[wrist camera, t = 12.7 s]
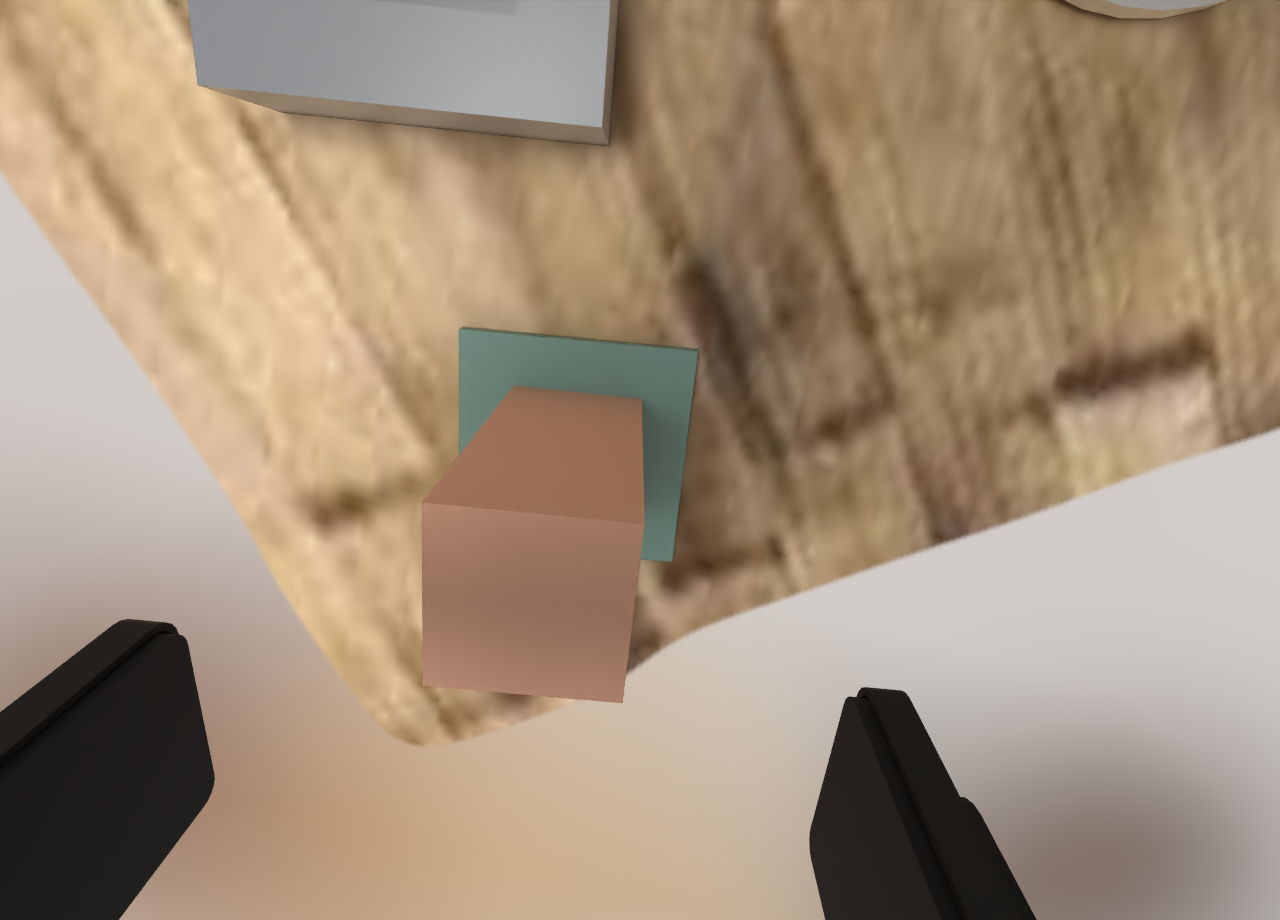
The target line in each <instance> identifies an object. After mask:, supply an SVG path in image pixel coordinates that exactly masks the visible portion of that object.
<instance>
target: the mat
mask: <svg viewBox="0 0 1280 920" xmlns="http://www.w3.org/2000/svg"><path fill="white" fill-rule="evenodd" d="M697 356H698V350H697V349H691V348H680V347H669V346H659V345H648V344H637V343H627V342H616V341H605V340H595V339H584V338H573V337H563V336H552V335H541V334H530V333H520V332H509V331H498V330H488V329H477V328H466V327H462V328H461V329H459V455H460V453H461V452H462V451H463V450H464V448H465V447H466V446H467V444H468V443H469V442H470V441H471V439H472V438H473V437H474V436H475V434H476V433H477V432H478V430H479V429H480V428H481V427H482V425H483V424H484V423H485V422H486V420H487V419H488V418H489V416H490V415H491V414H492V413H493V411H494V410H495V409H496V408H497V406H498V405H499V404H500V402H501V401H502V400H503V399H504V397H505V396H506V395H507V394H508V392H509V391H510V390H511V388H512V387H513V386H514V385H516V386H525V387H534V388H544V389H553V390H563V391H572V392H581V393H591V394H600V395H610V396H619V397H628V398H638V399H642V432H643V476H644V520H645V525H644V533H643V541H642V549H641V557H640V559H644V560H657V561H669V562H672V557H673V549H674V541H675V533H676V525H677V517H678V509H679V501H680V493H681V485H682V477H683V469H684V461H685V453H686V445H687V437H688V429H689V421H690V413H691V405H692V397H693V389H694V381H695V372H696V364H697Z"/></svg>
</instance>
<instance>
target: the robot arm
mask: <svg viewBox="0 0 1280 920" xmlns="http://www.w3.org/2000/svg"><path fill="white" fill-rule="evenodd" d="M1065 1H1067V2H1069V3H1071V4H1073V5H1075V6H1077V7H1079V8H1081V9H1083V10H1088V11H1092V12H1096V13H1100V14H1104V15H1109V16H1113V17H1117V18H1166V17H1170V16H1175V15H1179V14H1184V13H1189V12H1193V11H1198V10H1203V9H1206V8H1209V7H1211V6H1214V5H1216V4H1219V3H1221V2H1224V1H1226V0H1065ZM214 780H215V778H214V770H213V765H212V760H211V755H210V751H209V746H208V741H207V736H206V731H205V726H204V721H203V716H202V711H201V707H200V701H199V697H198V691H197V687H196V682H195V677H194V672H193V667H192V662H191V657H190V652H189V647H188V643H187V640H186V638H184V636H182V635H179V634H178V631H177V629H176V627H174V626H173V625H172V624H170V623H165V622H154V621H144V620H133V619H126V620H121V621H119V622H117V623H116V624H114V625H112V626H111V627H110V628H108V629H107V630H106V631H105V632H103V633H102V634H101V635H99V636H98V637H97V638H96V639H94V640H93V641H92V642H91V643H89V644H88V645H86V646H85V647H84V648H83V649H81V650H80V651H79V652H77V653H76V654H75V655H74V656H72V657H71V658H70V659H68V660H67V661H66V662H65V663H63V664H62V665H61V666H59V667H58V668H57V669H55V670H54V671H53V672H52V673H50V674H49V675H48V676H46V677H45V678H44V679H43V680H41V681H40V682H39V683H37V684H36V685H35V686H33V687H32V688H31V689H30V690H28V691H27V692H26V693H24V694H23V695H22V696H21V697H19V698H18V699H17V700H15V701H14V702H13V703H12V704H10V705H9V706H8V707H6V708H5V709H4V710H2V711H1V712H0V920H119V919H120V917H121V916H122V915H123V913H124V912H125V911H126V909H127V908H128V907H129V905H130V904H131V903H132V901H133V900H134V899H135V897H136V896H137V895H138V894H139V892H140V891H141V890H142V888H143V887H144V885H145V884H146V883H147V881H148V880H149V879H150V878H151V876H152V875H153V874H154V872H155V871H156V870H157V868H158V867H159V865H160V864H161V863H162V862H163V860H164V859H165V858H166V856H167V855H168V854H169V852H170V851H171V850H172V848H173V847H174V846H175V844H176V843H177V842H178V840H179V839H180V838H181V836H182V835H183V833H184V832H185V831H186V830H187V828H188V827H189V826H190V824H191V823H192V822H193V820H194V819H195V818H196V816H197V815H198V814H199V812H200V811H201V810H202V808H203V807H204V806H205V804H206V803H207V801H208V799H209V797H210V795H211V793H212V789H213V786H214ZM809 840H810V841H809V842H810V855H811V861H812V865H813V869H814V873H815V878H816V882H817V886H818V890H819V895H820V898H821V903H822V907H823V912H824V916H825V920H1036V918H1035V916H1034V914H1033V912H1032V910H1031V909H1030V907H1029V905H1028V903H1027V901H1026V899H1025V897H1024V896H1023V893H1022V891H1021V890H1020V888H1019V886H1018V884H1017V882H1016V880H1015V878H1014V877H1013V874H1012V873H1011V871H1010V869H1009V867H1008V865H1007V863H1006V861H1005V859H1004V857H1003V856H1002V854H1001V852H1000V850H999V848H998V846H997V844H996V843H995V840H994V839H993V837H992V835H991V833H990V831H989V829H988V827H987V825H986V824H985V822H984V820H983V818H982V816H981V814H980V813H979V812H978V810H977V808H976V807H975V806H974V804H973V803H972V802H970V801H969V800H968V799H967V798H964V797H960V796H959V794H958V792H957V790H956V788H955V786H954V784H953V782H952V780H951V778H950V776H949V774H948V772H947V770H946V768H945V766H944V764H943V762H942V760H941V759H940V757H939V755H938V753H937V751H936V749H935V747H934V745H933V743H932V741H931V739H930V737H929V735H928V733H927V731H926V729H925V727H924V725H923V723H922V721H921V719H920V717H919V715H918V713H917V712H916V710H915V708H914V706H913V704H912V702H911V700H910V698H909V697H908V695H907V694H906V693H905V692H903V691H900V690H888V689H878V688H867V687H865V688H861V689H860V690H859V692H858V694H857V697H847V699H846V700H845V703H844V706H843V710H842V714H841V717H840V721H839V725H838V728H837V732H836V736H835V739H834V743H833V747H832V750H831V754H830V758H829V762H828V765H827V769H826V773H825V777H824V780H823V784H822V788H821V792H820V795H819V799H818V803H817V806H816V810H815V814H814V818H813V821H812V825H811V830H810V839H809Z"/></svg>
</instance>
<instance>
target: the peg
mask: <svg viewBox="0 0 1280 920" xmlns="http://www.w3.org/2000/svg"><path fill="white" fill-rule="evenodd" d="M644 525H645V520H644V476H643V432H642V399H638V398H628V397H619V396H610V395H600V394H591V393H581V392H572V391H563V390H553V389H544V388H534V387H525V386H516V385H514V386H513V387H512V388H511V390H510V391H509V392H508V394H507V395H506V396H505V397H504V399H503V400H502V401H501V402H500V404H499V405H498V406H497V408H496V409H495V410H494V411H493V413H492V414H491V415H490V416H489V418H488V419H487V420H486V422H485V423H484V424H483V425H482V427H481V428H480V429H479V430H478V432H477V433H476V434H475V436H474V437H473V438H472V439H471V441H470V442H469V443H468V444H467V446H466V447H465V448H464V450H463V451H462V452H461V453H460V455H459V456H458V457H457V458H456V460H455V461H454V462H453V464H452V465H451V466H450V467H449V469H448V470H447V471H446V472H445V474H444V475H443V476H442V478H441V479H440V480H439V481H438V483H437V484H436V485H435V486H434V488H433V489H432V490H431V492H430V493H429V494H428V495H427V497H426V498H425V499H424V500H423V502H422V624H423V686H433V687H444V688H456V689H467V690H479V691H490V692H501V693H513V694H524V695H536V696H547V697H559V698H570V699H582V700H593V701H604V702H616V703H622V702H623V694H624V686H625V678H626V670H627V662H628V654H629V646H630V638H631V630H632V622H633V614H634V606H635V598H636V590H637V582H638V574H639V566H640V557H641V549H642V541H643V533H644Z"/></svg>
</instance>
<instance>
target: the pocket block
mask: <svg viewBox="0 0 1280 920" xmlns="http://www.w3.org/2000/svg"><path fill="white" fill-rule="evenodd" d="M187 1H188V9H189V17H190V25H191V33H192V42H193V50H194V58H195V66H196V75H197V83H198V85H199V86H202V87H205V88H208V89H211V90H214V91H217V92H221V93H224V94H227V95H230V96H233V97H236V98H239V99H242V100H245V101H248V102H251V103H254V104H258V105H261V106H264V107H267V108H270V109H273V110H276V111H279V112H283V113H293V114H302V115H312V116H321V117H331V118H341V119H350V120H360V121H369V122H379V123H389V124H398V125H408V126H418V127H427V128H437V129H446V130H456V131H466V132H475V133H485V134H494V135H504V136H514V137H523V138H533V139H543V140H552V141H562V142H571V143H581V144H591V145H600V146H609V136H610V121H611V107H612V93H613V79H614V64H615V50H616V36H617V21H618V7H619V0H187Z"/></svg>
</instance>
